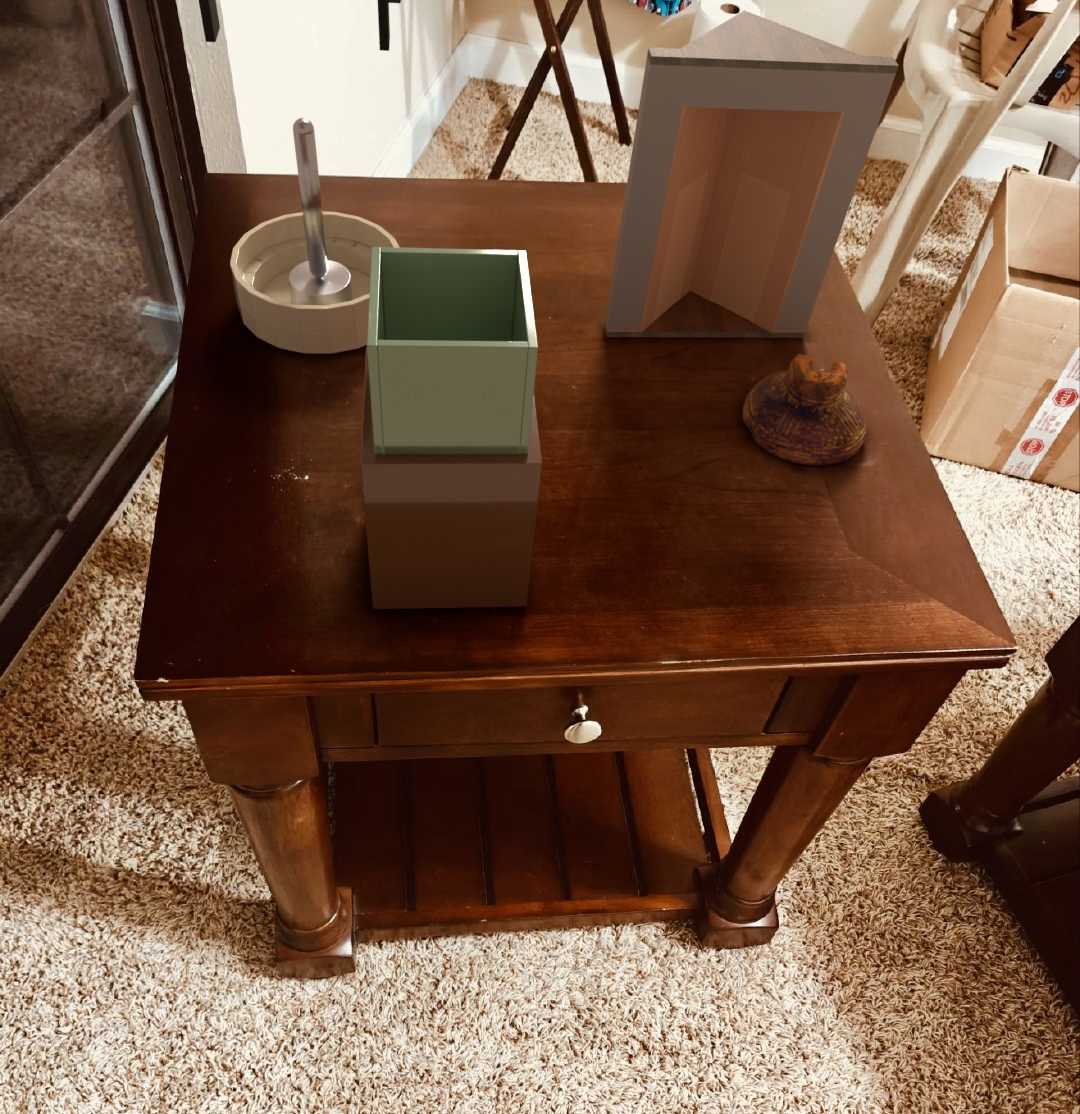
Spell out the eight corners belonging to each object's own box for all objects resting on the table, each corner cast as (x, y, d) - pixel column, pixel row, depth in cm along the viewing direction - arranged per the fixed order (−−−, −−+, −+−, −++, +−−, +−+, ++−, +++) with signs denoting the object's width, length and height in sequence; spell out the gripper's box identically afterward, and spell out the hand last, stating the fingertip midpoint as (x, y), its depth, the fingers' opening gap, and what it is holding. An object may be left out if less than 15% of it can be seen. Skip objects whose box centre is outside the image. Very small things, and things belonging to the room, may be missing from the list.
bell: (718, 429, 93) (736, 368, 88) (778, 368, 100) (798, 308, 94) (828, 488, 89) (854, 429, 84) (883, 421, 96) (911, 362, 90)
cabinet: (606, 336, 101) (651, 55, 79) (594, 280, 107) (633, 5, 86) (803, 337, 104) (898, 65, 82) (780, 282, 110) (863, 15, 88)
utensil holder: (372, 609, 77) (350, 355, 58) (376, 496, 85) (358, 238, 65) (526, 606, 78) (554, 357, 59) (516, 495, 86) (538, 242, 67)
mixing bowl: (231, 359, 94) (220, 307, 90) (249, 260, 105) (240, 208, 100) (403, 361, 96) (401, 310, 92) (404, 263, 106) (402, 213, 102)
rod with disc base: (289, 320, 98) (263, 135, 83) (294, 283, 101) (270, 101, 87) (351, 321, 98) (336, 137, 84) (353, 284, 102) (339, 103, 87)
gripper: (458, -301, 67) (453, 26, 84) (75, -334, 65) (147, 10, 81) (460, -274, 63) (455, 67, 79) (47, -309, 60) (130, 51, 76)
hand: (299, 39), depth 80 cm, fingers open, 13 cm apart
